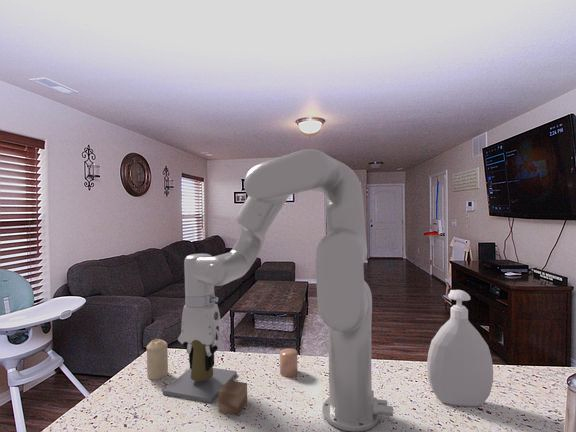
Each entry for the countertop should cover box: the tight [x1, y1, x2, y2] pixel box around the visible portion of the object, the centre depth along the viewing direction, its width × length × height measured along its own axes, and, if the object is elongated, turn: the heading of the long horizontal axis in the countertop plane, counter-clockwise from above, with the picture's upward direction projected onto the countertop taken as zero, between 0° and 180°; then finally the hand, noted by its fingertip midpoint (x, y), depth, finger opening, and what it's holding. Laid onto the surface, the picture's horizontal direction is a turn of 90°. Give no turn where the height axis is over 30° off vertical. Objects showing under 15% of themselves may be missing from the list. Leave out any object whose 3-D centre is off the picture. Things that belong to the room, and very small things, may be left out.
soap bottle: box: [426, 289, 494, 408], centre depth 79 cm, size 14×8×27 cm, turn 79°
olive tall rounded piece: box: [191, 340, 214, 381], centre depth 88 cm, size 6×6×11 cm
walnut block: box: [217, 380, 248, 416], centre depth 78 cm, size 5×5×5 cm
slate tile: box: [162, 367, 238, 404], centre depth 88 cm, size 14×14×1 cm
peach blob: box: [279, 347, 299, 378], centre depth 93 cm, size 5×5×6 cm
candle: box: [146, 338, 169, 380], centre depth 93 cm, size 6×6×10 cm
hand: (201, 366), depth 88 cm, fingers closed on olive tall rounded piece, 4 cm apart
